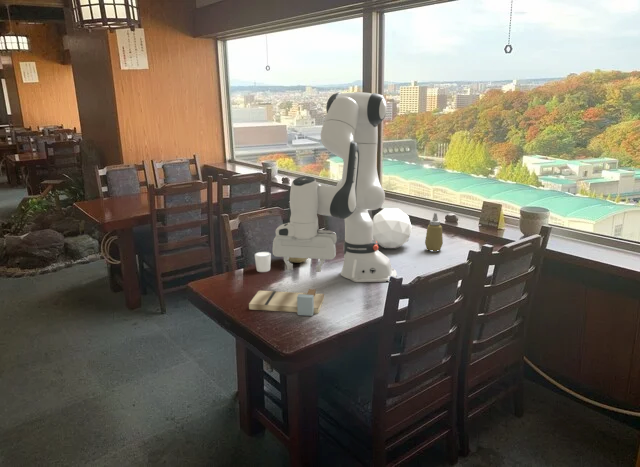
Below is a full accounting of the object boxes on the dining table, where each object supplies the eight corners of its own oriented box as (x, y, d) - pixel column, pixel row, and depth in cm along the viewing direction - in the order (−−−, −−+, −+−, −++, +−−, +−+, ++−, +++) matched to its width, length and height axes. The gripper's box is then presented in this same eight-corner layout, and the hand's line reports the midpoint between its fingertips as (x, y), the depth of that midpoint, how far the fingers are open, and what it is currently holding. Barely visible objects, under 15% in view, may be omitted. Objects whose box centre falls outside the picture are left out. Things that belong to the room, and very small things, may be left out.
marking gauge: (319, 299, 171) (319, 282, 169) (312, 315, 158) (312, 297, 156) (305, 298, 172) (305, 281, 170) (297, 314, 159) (297, 296, 157)
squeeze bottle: (444, 249, 226) (447, 212, 221) (438, 254, 219) (441, 215, 215) (428, 247, 230) (430, 210, 225) (422, 251, 224) (423, 213, 219)
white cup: (268, 273, 198) (268, 257, 196) (253, 272, 200) (252, 256, 198) (273, 267, 205) (273, 251, 203) (258, 266, 206) (257, 251, 204)
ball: (384, 257, 238) (384, 220, 245) (420, 250, 225) (419, 211, 232) (361, 246, 224) (362, 207, 232) (398, 237, 212) (397, 196, 219)
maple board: (323, 299, 172) (323, 293, 171) (318, 313, 160) (318, 307, 160) (259, 295, 176) (258, 290, 175) (249, 309, 164) (248, 303, 164)
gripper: (338, 228, 153) (337, 269, 156) (275, 225, 156) (276, 265, 160) (335, 233, 147) (334, 275, 150) (270, 230, 150) (271, 271, 154)
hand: (304, 270), depth 155 cm, fingers open, 8 cm apart
